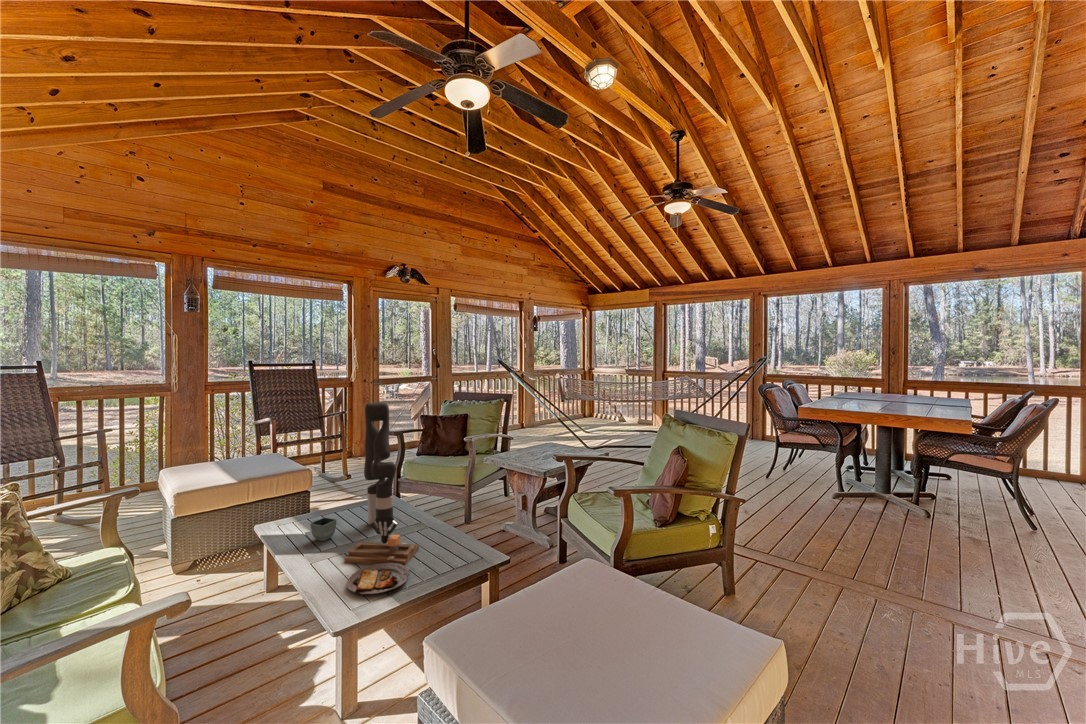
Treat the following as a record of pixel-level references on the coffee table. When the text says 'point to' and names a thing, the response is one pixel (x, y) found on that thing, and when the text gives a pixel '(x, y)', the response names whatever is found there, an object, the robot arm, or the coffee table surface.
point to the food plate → (371, 584)
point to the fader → (394, 542)
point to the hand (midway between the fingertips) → (384, 542)
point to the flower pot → (323, 528)
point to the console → (380, 553)
